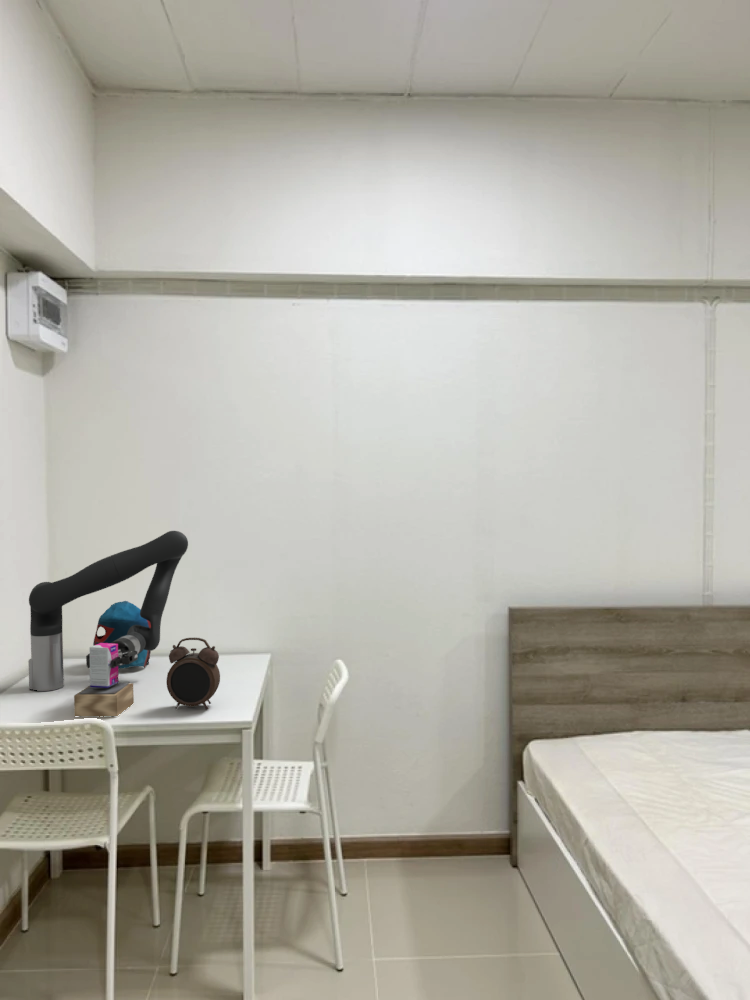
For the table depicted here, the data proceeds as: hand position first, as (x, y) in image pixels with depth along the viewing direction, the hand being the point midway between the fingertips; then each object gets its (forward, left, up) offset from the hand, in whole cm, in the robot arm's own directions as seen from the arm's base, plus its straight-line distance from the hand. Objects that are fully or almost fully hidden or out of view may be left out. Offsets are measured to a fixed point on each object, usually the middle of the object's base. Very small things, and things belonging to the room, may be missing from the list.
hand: (100, 664), depth 205 cm
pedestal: (0, +2, -14) cm, 14 cm away
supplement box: (0, +2, -7) cm, 7 cm away
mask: (-13, +50, -14) cm, 54 cm away
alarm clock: (+25, +4, -14) cm, 29 cm away
